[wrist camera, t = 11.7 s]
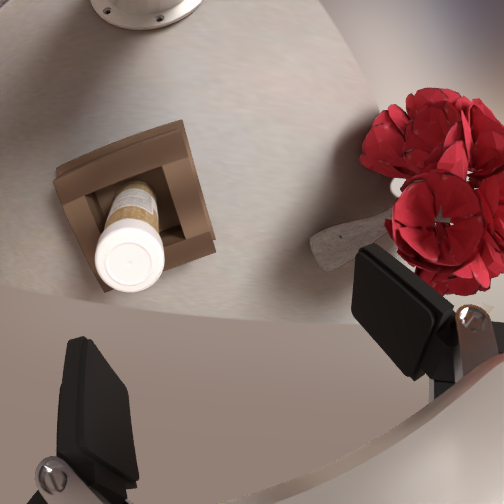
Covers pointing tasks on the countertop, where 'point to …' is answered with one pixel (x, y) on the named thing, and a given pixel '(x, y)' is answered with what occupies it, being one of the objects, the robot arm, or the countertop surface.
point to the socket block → (146, 170)
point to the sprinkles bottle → (131, 240)
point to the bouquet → (433, 193)
